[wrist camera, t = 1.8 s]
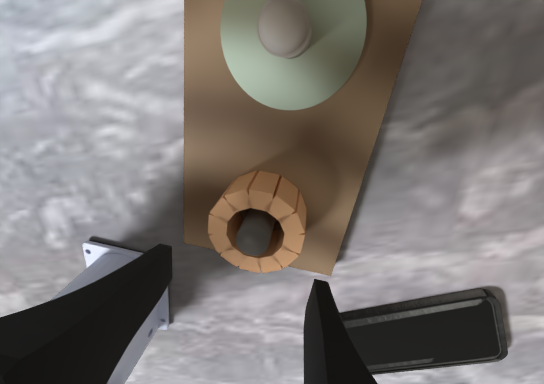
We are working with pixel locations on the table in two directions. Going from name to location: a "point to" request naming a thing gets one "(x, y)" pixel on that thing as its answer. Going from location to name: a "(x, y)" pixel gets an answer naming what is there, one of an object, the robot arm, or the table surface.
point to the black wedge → (429, 332)
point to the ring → (268, 197)
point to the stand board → (287, 108)
